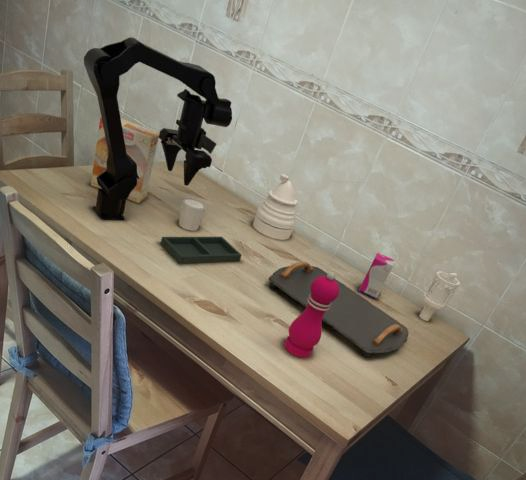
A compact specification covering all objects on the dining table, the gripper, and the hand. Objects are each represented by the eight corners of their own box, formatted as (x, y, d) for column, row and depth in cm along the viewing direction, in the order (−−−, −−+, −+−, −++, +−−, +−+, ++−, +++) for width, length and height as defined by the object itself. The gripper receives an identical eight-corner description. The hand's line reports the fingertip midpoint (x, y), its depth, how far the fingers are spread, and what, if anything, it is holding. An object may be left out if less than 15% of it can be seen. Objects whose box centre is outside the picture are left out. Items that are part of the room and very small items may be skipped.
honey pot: (258, 235, 159) (277, 180, 149) (248, 217, 168) (266, 164, 158) (294, 242, 164) (315, 190, 154) (283, 225, 173) (302, 174, 164)
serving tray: (256, 281, 133) (263, 260, 130) (306, 269, 150) (314, 250, 147) (372, 368, 117) (384, 347, 114) (414, 344, 134) (425, 325, 131)
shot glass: (201, 226, 150) (208, 204, 146) (197, 234, 145) (203, 211, 141) (179, 218, 150) (185, 195, 146) (174, 225, 144) (179, 202, 140)
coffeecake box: (89, 185, 147) (99, 116, 136) (99, 179, 153) (109, 112, 142) (138, 204, 148) (152, 137, 137) (147, 197, 154) (160, 132, 143)
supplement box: (378, 292, 154) (395, 259, 148) (375, 300, 149) (393, 266, 143) (361, 284, 154) (377, 251, 148) (357, 291, 149) (374, 257, 143)
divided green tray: (179, 264, 127) (181, 256, 126) (160, 243, 132) (161, 236, 131) (239, 261, 139) (241, 254, 138) (219, 243, 145) (222, 236, 144)
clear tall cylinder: (439, 322, 151) (466, 280, 143) (427, 326, 146) (454, 282, 138) (420, 309, 154) (446, 267, 146) (408, 312, 149) (434, 268, 141)
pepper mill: (280, 336, 115) (313, 259, 105) (310, 343, 117) (345, 268, 106) (284, 355, 110) (319, 276, 99) (314, 362, 111) (352, 285, 101)
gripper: (235, 138, 132) (219, 194, 141) (198, 112, 142) (185, 166, 151) (200, 132, 125) (185, 192, 134) (163, 105, 135) (152, 162, 144)
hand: (177, 177), depth 141 cm, fingers open, 9 cm apart
